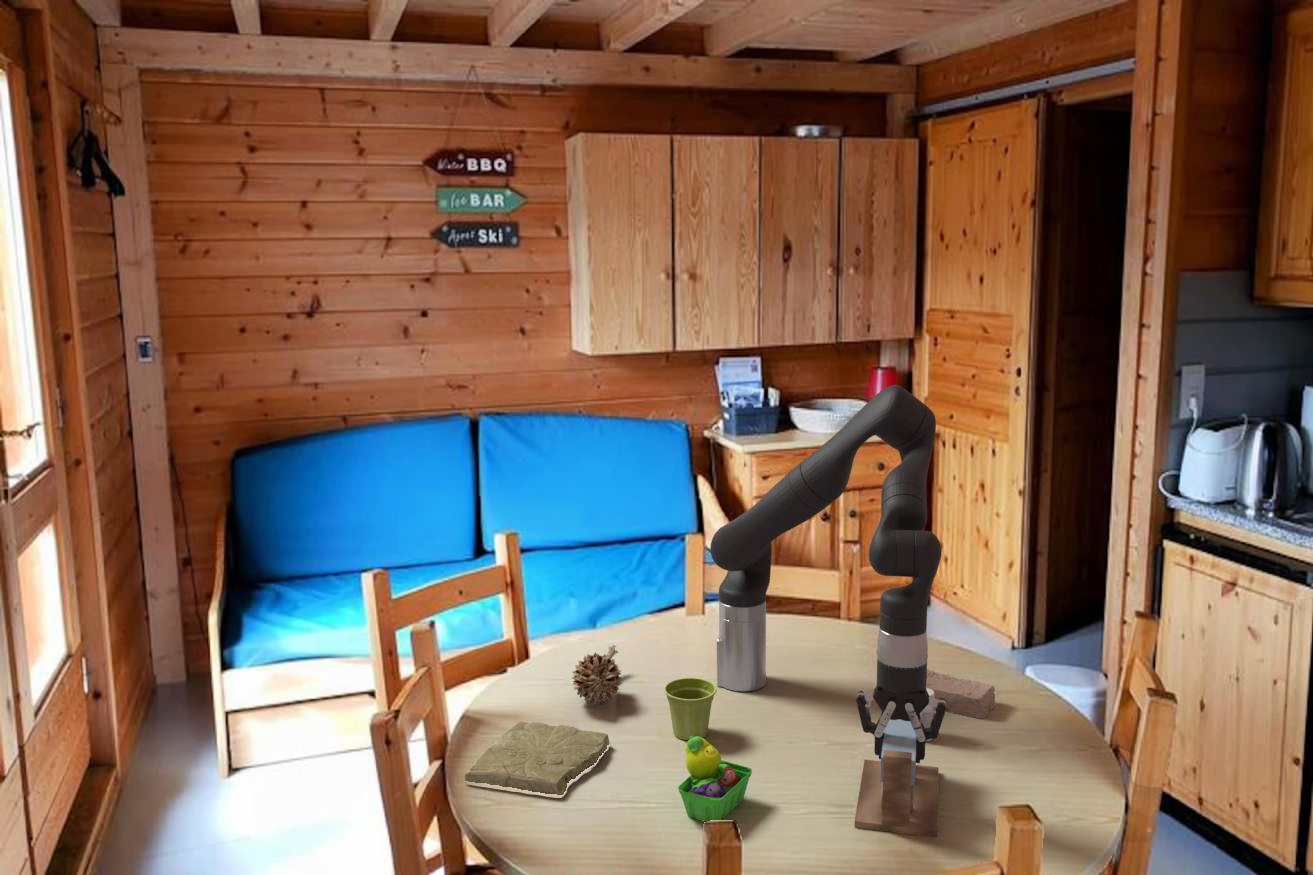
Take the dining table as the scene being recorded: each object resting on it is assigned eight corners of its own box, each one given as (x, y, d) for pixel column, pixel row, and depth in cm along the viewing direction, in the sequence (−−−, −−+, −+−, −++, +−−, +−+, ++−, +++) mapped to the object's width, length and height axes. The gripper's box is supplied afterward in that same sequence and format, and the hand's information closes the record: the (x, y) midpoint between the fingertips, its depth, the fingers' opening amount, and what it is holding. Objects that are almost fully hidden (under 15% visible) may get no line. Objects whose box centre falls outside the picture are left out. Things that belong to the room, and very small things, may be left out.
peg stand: (854, 827, 164) (855, 753, 162) (864, 764, 183) (865, 697, 181) (936, 837, 161) (939, 761, 159) (938, 772, 180) (940, 704, 178)
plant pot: (727, 732, 196) (727, 686, 194) (693, 750, 189) (692, 703, 188) (688, 717, 202) (688, 673, 201) (653, 734, 196) (652, 689, 194)
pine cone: (618, 718, 202) (617, 668, 200) (567, 717, 203) (565, 667, 201) (631, 671, 224) (630, 625, 222) (585, 670, 225) (583, 624, 223)
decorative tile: (463, 787, 179) (462, 767, 178) (518, 734, 198) (518, 716, 197) (568, 805, 173) (567, 784, 172) (614, 749, 191) (614, 730, 191)
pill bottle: (937, 732, 194) (939, 688, 193) (932, 744, 190) (933, 698, 189) (910, 728, 196) (912, 684, 195) (905, 739, 192) (906, 694, 191)
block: (880, 781, 165) (881, 757, 164) (885, 740, 178) (886, 717, 178) (914, 785, 164) (915, 760, 163) (917, 743, 177) (917, 720, 176)
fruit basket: (719, 832, 164) (719, 762, 162) (669, 816, 168) (668, 748, 166) (754, 798, 173) (754, 732, 171) (705, 784, 178) (705, 719, 176)
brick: (996, 705, 206) (997, 681, 205) (982, 721, 199) (983, 697, 198) (911, 687, 215) (912, 664, 214) (895, 702, 208) (896, 679, 207)
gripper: (950, 651, 170) (946, 752, 173) (856, 643, 173) (854, 743, 176) (950, 669, 162) (946, 775, 166) (852, 661, 166) (850, 765, 169)
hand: (899, 758), depth 171 cm, fingers closed on block, 5 cm apart
